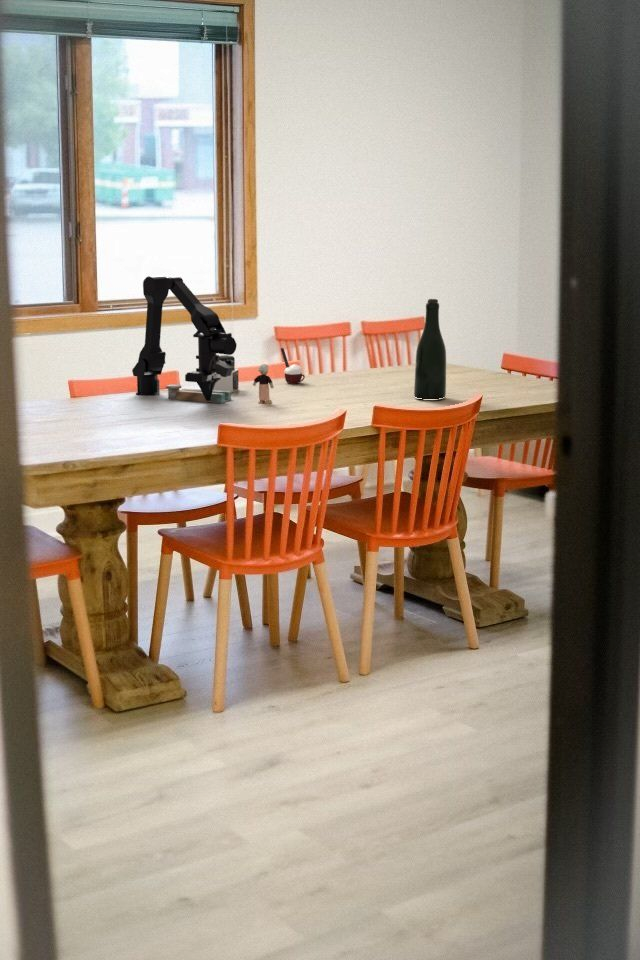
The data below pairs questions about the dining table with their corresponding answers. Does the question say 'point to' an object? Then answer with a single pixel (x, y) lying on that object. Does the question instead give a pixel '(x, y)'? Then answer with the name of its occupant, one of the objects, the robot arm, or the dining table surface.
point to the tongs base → (174, 388)
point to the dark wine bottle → (430, 357)
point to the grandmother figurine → (263, 384)
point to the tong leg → (199, 396)
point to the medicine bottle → (227, 378)
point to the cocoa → (292, 371)
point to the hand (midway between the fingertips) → (208, 400)
